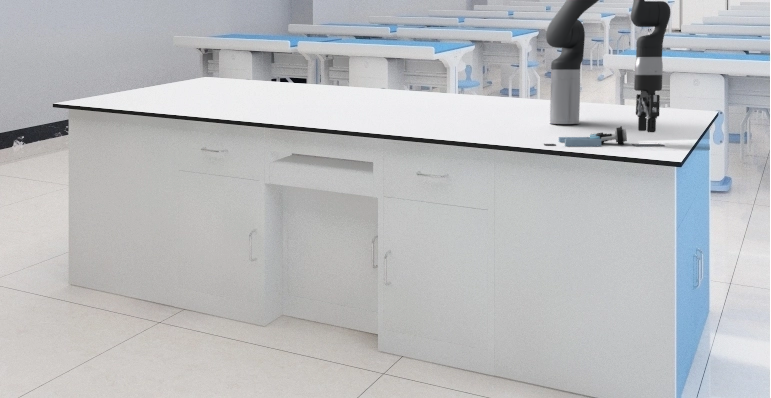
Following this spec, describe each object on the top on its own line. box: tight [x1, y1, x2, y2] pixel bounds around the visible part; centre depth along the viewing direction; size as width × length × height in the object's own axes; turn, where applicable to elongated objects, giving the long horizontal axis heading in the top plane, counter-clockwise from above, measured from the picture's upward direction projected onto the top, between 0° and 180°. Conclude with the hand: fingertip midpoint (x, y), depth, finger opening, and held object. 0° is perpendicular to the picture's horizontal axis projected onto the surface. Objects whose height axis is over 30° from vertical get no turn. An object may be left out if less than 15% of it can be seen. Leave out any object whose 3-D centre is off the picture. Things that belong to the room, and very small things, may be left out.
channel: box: [557, 136, 602, 147], centre depth 265 cm, size 10×10×2 cm
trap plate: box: [543, 143, 557, 146], centre depth 266 cm, size 5×3×1 cm, turn 1°
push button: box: [589, 125, 628, 146], centre depth 264 cm, size 7×5×10 cm
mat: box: [631, 143, 665, 147], centre depth 263 cm, size 8×8×1 cm
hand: (646, 131), depth 263 cm, fingers open, 8 cm apart
